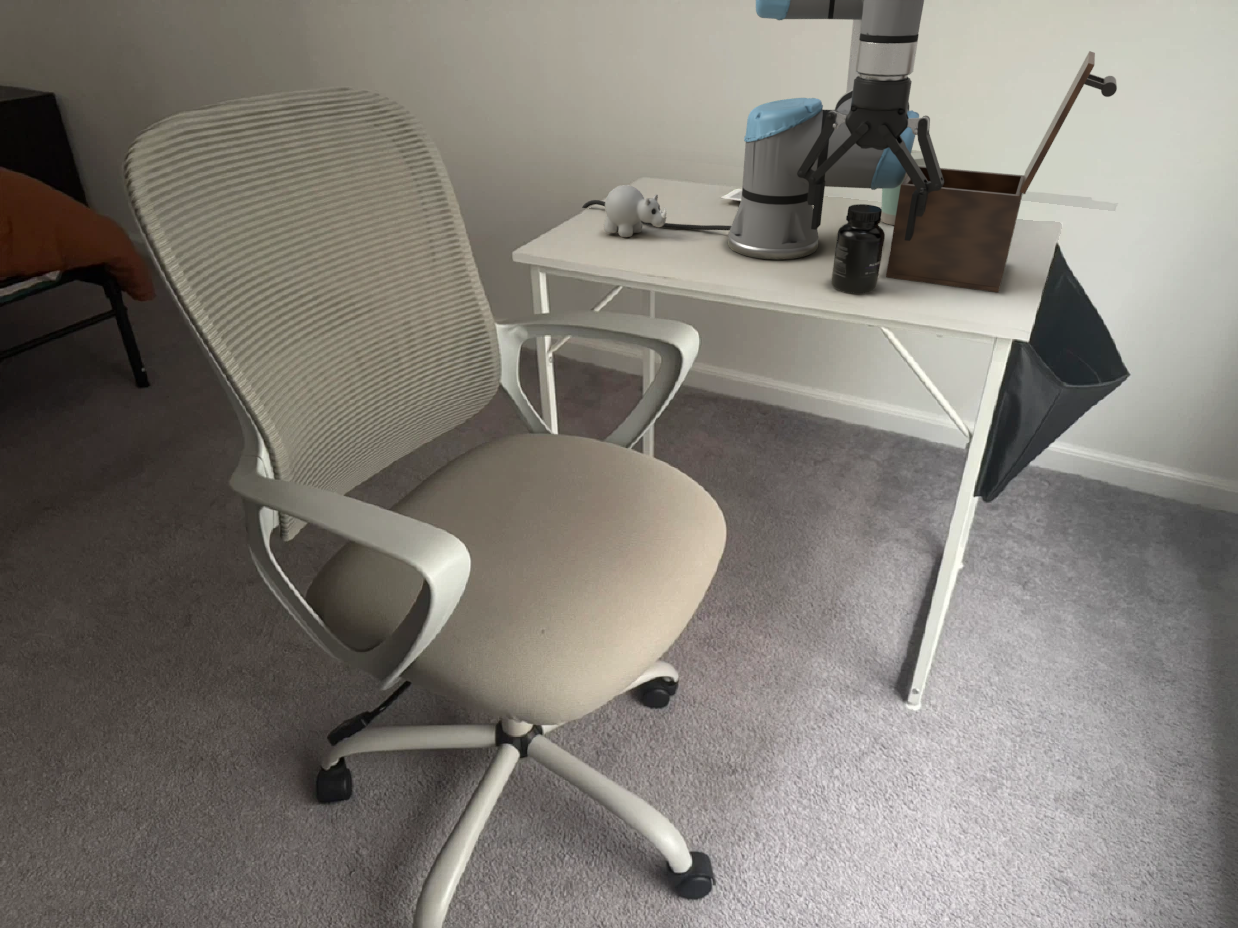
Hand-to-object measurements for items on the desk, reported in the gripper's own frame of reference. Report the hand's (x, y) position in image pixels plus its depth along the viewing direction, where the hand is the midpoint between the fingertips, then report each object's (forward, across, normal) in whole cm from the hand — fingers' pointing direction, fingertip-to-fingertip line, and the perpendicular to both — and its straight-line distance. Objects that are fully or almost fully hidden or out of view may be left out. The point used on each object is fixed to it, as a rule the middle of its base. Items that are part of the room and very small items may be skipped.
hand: (861, 232), depth 126 cm
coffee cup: (+8, 0, -37) cm, 38 cm away
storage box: (+8, -12, -13) cm, 19 cm away
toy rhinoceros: (+8, +41, -10) cm, 43 cm away
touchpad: (+8, +26, -38) cm, 47 cm away
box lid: (-15, -22, -13) cm, 30 cm away
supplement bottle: (+9, 0, 0) cm, 9 cm away
